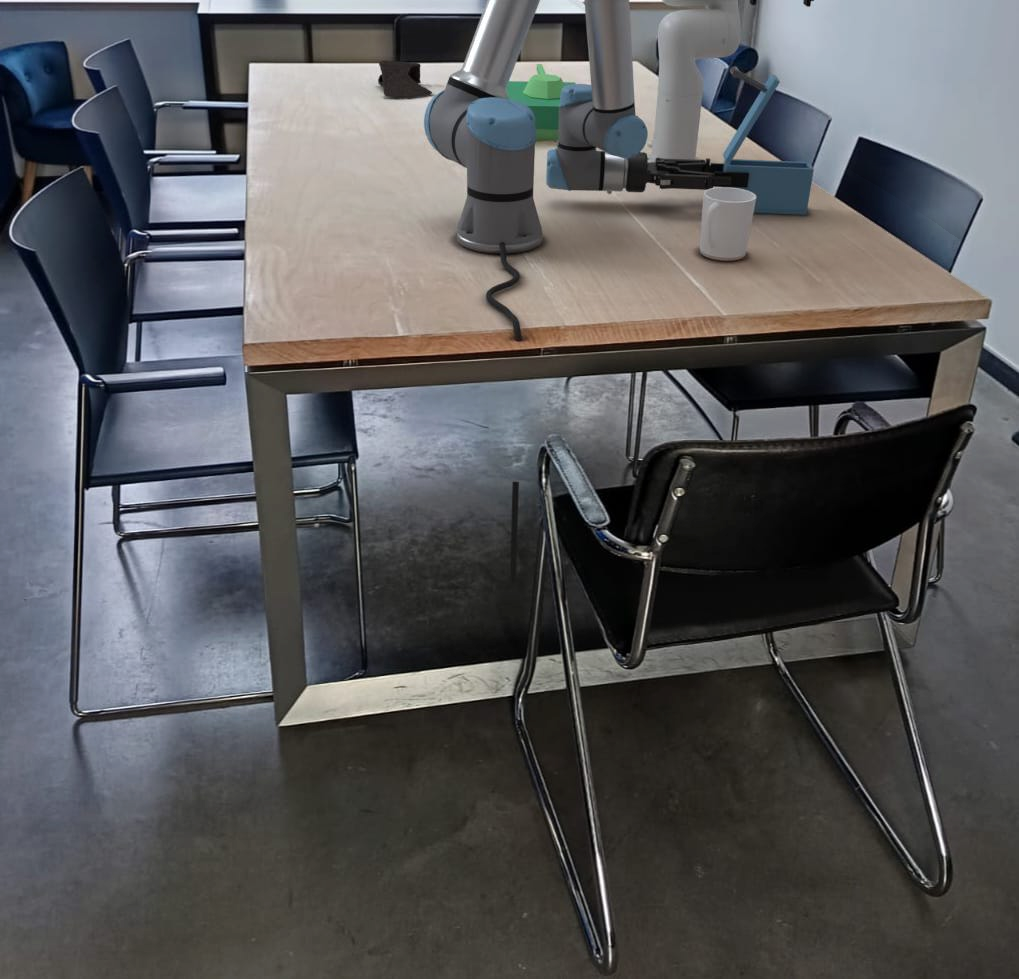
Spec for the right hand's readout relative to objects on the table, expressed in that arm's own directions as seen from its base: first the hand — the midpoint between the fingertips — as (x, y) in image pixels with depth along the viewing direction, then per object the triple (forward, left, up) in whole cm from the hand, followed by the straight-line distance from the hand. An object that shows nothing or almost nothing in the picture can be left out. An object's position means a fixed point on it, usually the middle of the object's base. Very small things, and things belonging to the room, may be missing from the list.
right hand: (779, 4), depth 196 cm
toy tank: (-74, -10, -37) cm, 84 cm away
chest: (+1, +2, -37) cm, 37 cm away
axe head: (-124, -29, -37) cm, 132 cm away
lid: (-1, -2, -20) cm, 20 cm away
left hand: (-1, -2, -31) cm, 31 cm away
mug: (+21, -21, -37) cm, 47 cm away
